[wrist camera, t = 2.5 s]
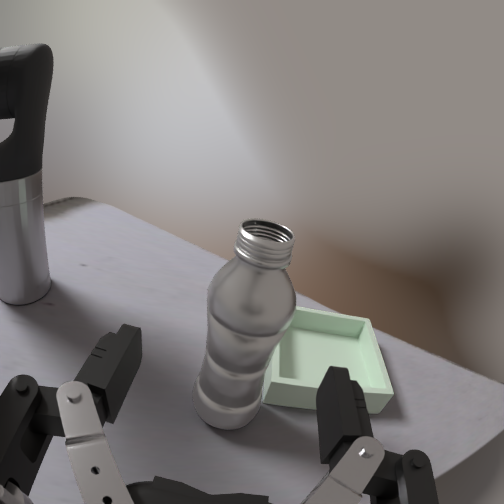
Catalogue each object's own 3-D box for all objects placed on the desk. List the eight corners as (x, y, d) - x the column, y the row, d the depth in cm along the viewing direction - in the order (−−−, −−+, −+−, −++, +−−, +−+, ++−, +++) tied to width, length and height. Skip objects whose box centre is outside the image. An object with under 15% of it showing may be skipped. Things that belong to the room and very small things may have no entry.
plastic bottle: (224, 377, 33) (262, 205, 25) (268, 416, 30) (335, 242, 21) (177, 403, 29) (195, 216, 20) (222, 449, 25) (275, 266, 16)
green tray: (262, 403, 31) (271, 381, 30) (267, 323, 44) (273, 301, 42) (379, 413, 32) (394, 394, 30) (359, 338, 44) (369, 318, 42)
